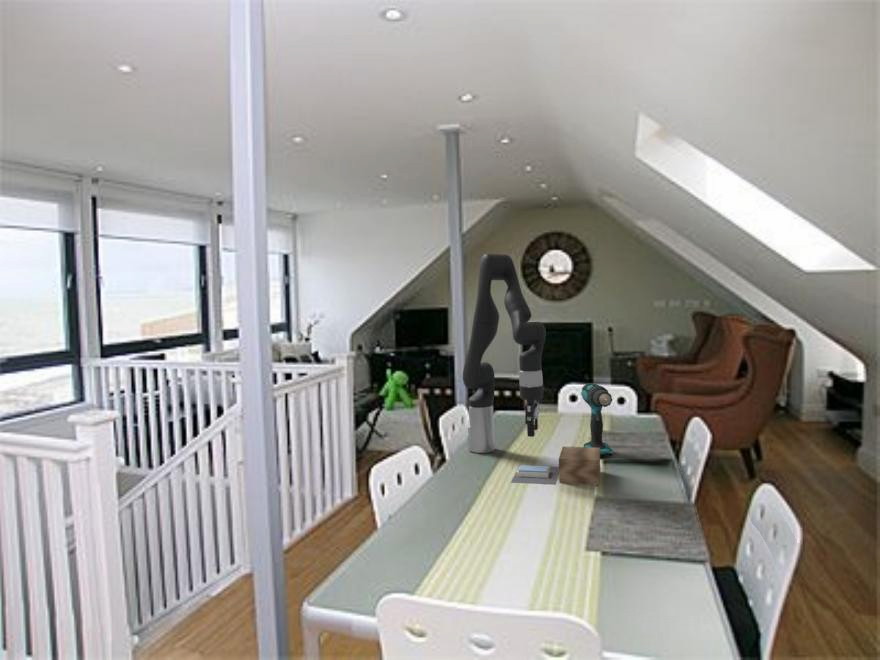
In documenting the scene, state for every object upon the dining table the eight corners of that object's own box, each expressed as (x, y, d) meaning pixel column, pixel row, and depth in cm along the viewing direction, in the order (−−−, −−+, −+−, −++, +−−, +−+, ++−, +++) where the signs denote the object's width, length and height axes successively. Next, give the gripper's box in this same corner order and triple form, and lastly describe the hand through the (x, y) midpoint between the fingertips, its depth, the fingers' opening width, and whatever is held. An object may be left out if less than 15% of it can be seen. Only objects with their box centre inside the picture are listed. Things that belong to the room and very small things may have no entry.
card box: (516, 476, 202) (516, 470, 202) (519, 470, 208) (519, 464, 207) (547, 477, 199) (547, 471, 199) (550, 472, 205) (549, 466, 205)
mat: (510, 483, 196) (510, 482, 196) (519, 466, 214) (519, 465, 214) (555, 485, 193) (555, 484, 193) (560, 468, 210) (560, 466, 210)
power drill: (621, 464, 210) (620, 391, 208) (595, 465, 211) (593, 392, 209) (603, 443, 236) (601, 379, 234) (579, 444, 237) (577, 380, 235)
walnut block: (559, 483, 194) (558, 458, 194) (563, 469, 208) (562, 446, 207) (599, 485, 191) (598, 460, 190) (600, 471, 204) (599, 447, 204)
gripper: (522, 380, 209) (524, 427, 210) (516, 387, 195) (518, 438, 196) (545, 380, 207) (546, 428, 208) (540, 387, 193) (541, 439, 194)
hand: (532, 433), depth 202 cm, fingers open, 8 cm apart
